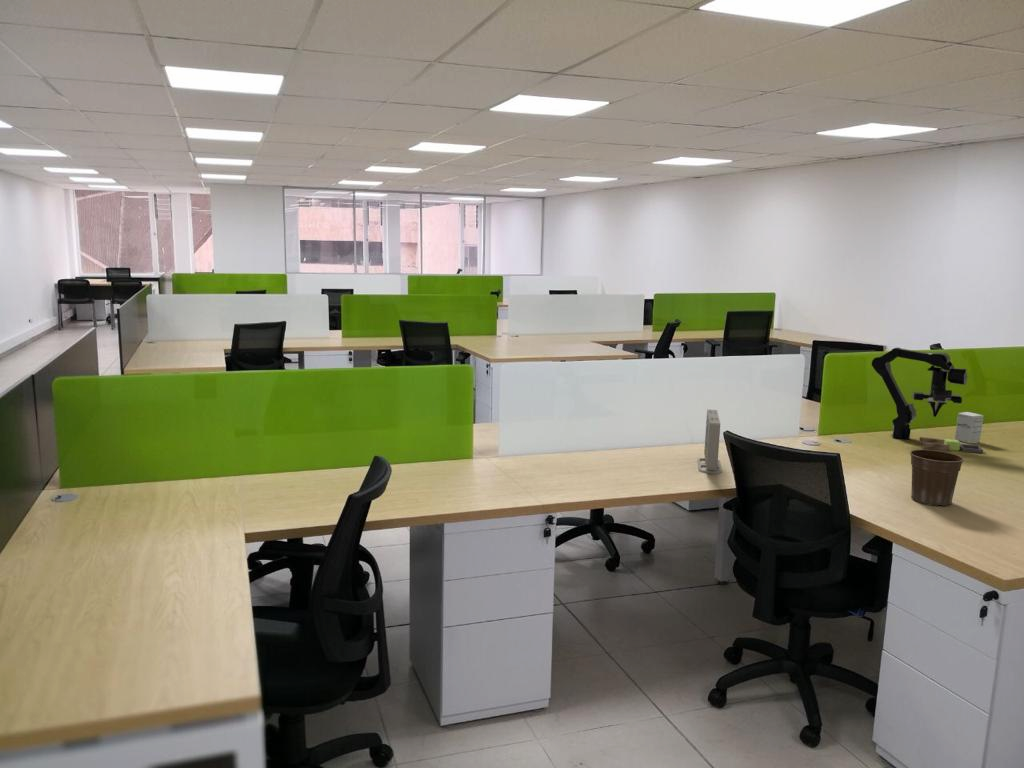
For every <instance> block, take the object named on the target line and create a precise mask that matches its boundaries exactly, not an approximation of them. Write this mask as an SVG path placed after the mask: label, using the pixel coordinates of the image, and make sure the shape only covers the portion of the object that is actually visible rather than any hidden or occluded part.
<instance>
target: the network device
mask: <svg viewBox="0 0 1024 768" xmlns="http://www.w3.org/2000/svg"><path fill="white" fill-rule="evenodd" d="M720 435H721V419H720V416H719V413H718V410H717V409H707V410H706V422H705V437H704V448H703V449H704V450H703V451H704V457H699V458H697V460H696V461H697V470H698V471H699V473H700V472H701V473H704V474H705V473H706V474H721V473H723V468H722V464H721V463H722V462H721V460H720V459H719V448H720ZM701 461H705V462H701ZM702 468H706V469H702Z"/></svg>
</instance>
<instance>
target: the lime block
mask: <svg viewBox="0 0 1024 768" xmlns="http://www.w3.org/2000/svg"><path fill="white" fill-rule="evenodd" d="M944 439H945V440H944V444H949V445H950V448H949V451H950V450H951V451H960V448H959V447H960V444H961V441H958V440H955V439H948V438H944Z"/></svg>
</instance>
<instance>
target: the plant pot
mask: <svg viewBox="0 0 1024 768" xmlns="http://www.w3.org/2000/svg"><path fill="white" fill-rule="evenodd" d="M909 455H910V465H911V493H910V495H911V496H910V497H911V499H912V498H913V499H912V500H914V501H915V502H917V501H918V502H917V503H920V502H921V503H920V504H923V503H925V504H924V505H927V504H931V505H930V506H935V505H937V506H938V505H940V506H941V505H942V507H947V505H948V506H950V505H951V504H952V503H953V497H954V493H955V489H956V485H957V481H958V476H959V472H960V471H961V467H962V464H963V462H964V461H965V458H964V457H963V456H961V455H958V454H957V453H952V452H950V451H944V450H933V449H923V448H922V449H920V448H919V449H913V450H910V451H909Z"/></svg>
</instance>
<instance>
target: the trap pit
mask: <svg viewBox="0 0 1024 768" xmlns="http://www.w3.org/2000/svg"><path fill="white" fill-rule="evenodd" d="M959 450H960V451H962V452H965V453H975V454H977V453H978V454H984V449H983V447H981V446H980V445H975V444H965V443H964V444H963V443H960V447H959Z"/></svg>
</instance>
